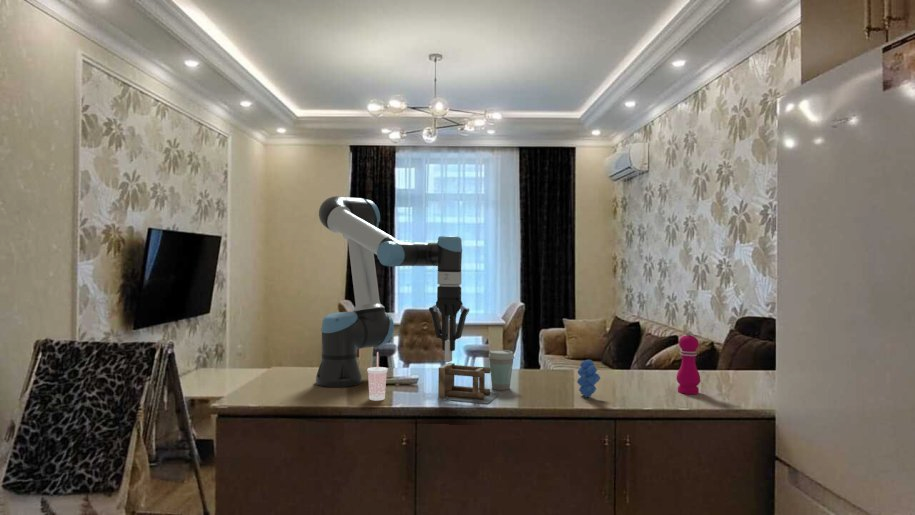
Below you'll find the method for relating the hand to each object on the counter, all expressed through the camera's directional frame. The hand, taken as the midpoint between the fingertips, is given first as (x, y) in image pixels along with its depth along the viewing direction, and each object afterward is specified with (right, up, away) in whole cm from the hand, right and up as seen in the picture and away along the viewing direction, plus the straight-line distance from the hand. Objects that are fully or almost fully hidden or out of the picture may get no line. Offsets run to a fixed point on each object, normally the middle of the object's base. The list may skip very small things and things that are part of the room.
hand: (448, 361), depth 184 cm
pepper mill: (+77, -12, +7) cm, 79 cm away
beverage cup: (-21, -10, -6) cm, 25 cm away
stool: (-2, -6, +1) cm, 6 cm away
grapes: (+44, -11, -2) cm, 45 cm away
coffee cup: (+17, -11, +10) cm, 23 cm away
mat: (+7, -11, -3) cm, 13 cm away
